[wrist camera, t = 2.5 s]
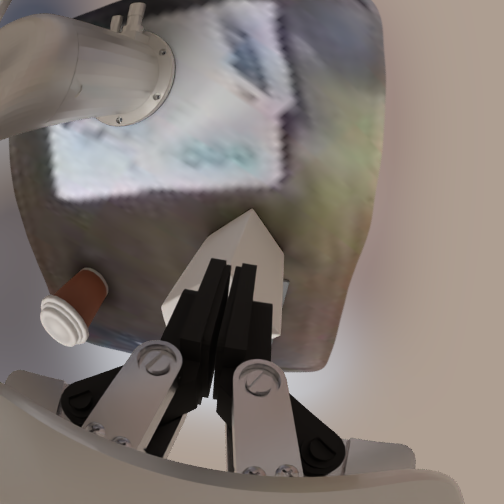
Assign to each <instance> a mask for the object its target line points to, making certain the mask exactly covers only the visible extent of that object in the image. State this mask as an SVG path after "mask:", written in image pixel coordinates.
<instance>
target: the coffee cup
mask: <svg viewBox="0 0 504 504" xmlns="http://www.w3.org/2000/svg"><path fill="white" fill-rule="evenodd" d="M107 294H108V285H107V282H106V280H105V279H104V278H103V276H102V275H101V274H100V273H98V272H97V271H96V270H94V269H92V268H83V269H82V270H80V271H79V272H78V273H77V274H76V275H75V276H74V277H73V278H72V279H70V280H69V281H68V282H67V283H66V284H65V285H64V286H63V287H61V288H60V289H59V290H58V291H57V292H56V293H55V294H54V295H48V296H47V297H45V298H44V299H43V300H42V303H41V310H42V312H41V315H40V319H41V322H42V325H43V326H44V328H45V330H46V331H47V332H48V333H49V334H50V335H51V337H53V338H54V339H55V340H56V341H57V342H59V343H61V344H63V345H65V346H69V347H71V346H75V344H82V343H84V342H85V341H86V339H87V338H88V336H89V333H88V327H89V325H90V324H91V322H92V320H93V318H94V316H95V315H96V313H97V311H98V309H99V307H100V306H101V304H102V302H103V301H104V299H105V297H106V296H107Z"/></svg>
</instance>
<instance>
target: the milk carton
mask: <svg viewBox="0 0 504 504" xmlns="http://www.w3.org/2000/svg"><path fill="white" fill-rule="evenodd" d="M211 258H215V259H221V260H226V264H227V265H231V275H230V284H229V292H230V288H231V284H232V280H233V276H234V272H235V268H236V266H240V267H242V263H246V264H252V265H257V271H256V279H255V287H254V295H253V301H258V302H264V303H271V304H273V317H272V339H273V338H275V337H277V336H280V335H281V317H282V295H283V270H284V253H283V252H282V250H281V249H280V247H279V246H278V244H277V243H276V242H275V240H274V239H273V237H272V236H271V234H270V233H269V231H268V230H267V228H266V227H265V225H264V224H263V223H262V221H261V220H260V218H259V217H258V215H257V214H256V212H255V211H254V210H253V209H250V210H249V211H247V212H245V213H244V214H242V215H241V216H239V217H237V218H236V219H234V220H233V221H231V222H230V223H228V224H226V225H225V226H223V227H222V228H220V229H219V230H217V231H216V232H214V233H212V234H211V235H209V236H208V237H207V238H206V240H205V241H204V243H203V244H202V246H201V247H200V249H199V250H198V251H197V253H196V254H195V256H194V257H193V259H192V260H191V262H190V263H189V265H188V266H187V268H186V269H185V271H184V272H183V274H182V275H181V277H180V278H179V280H178V281H177V283H176V284H175V286H174V287H173V289H172V290H171V292H170V294H169V295H168V297H167V298H166V300H165V301H164V303H163V305H162V307H161V309H162V313H163V316H164V320H165V323H166V327H167V324H168V322H169V320H170V318H171V315H172V313H173V311H174V309H175V307H176V305H177V302H178V300H179V298H180V296H181V294H182V292H183V290H184V289H189V290H194V291H198V289H199V287H200V284H201V282H202V279H203V277H204V275H205V272H206V270H207V267H208V265H209V262H210V260H211ZM228 296H229V293H228Z"/></svg>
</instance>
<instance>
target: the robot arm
mask: <svg viewBox="0 0 504 504" xmlns="http://www.w3.org/2000/svg"><path fill="white" fill-rule="evenodd" d="M11 1H12V0H0V21H1V19H2V17H3V15H4V14H5V12H6V10H7V8H8V6H9V5H10V3H11ZM145 8H146V4H145V3H132V4H131V5H130V7H129V11H128V15H127V18H128V19H127V23H126V26H124V27H122V32H120V27H121V25H122V21H123V16H121V15H116V16H113V17H112V20H111V24H110V26H111V27H110V30H108V29H105V28H102V27H99V26H96V25H93V24H90V23H86V22H83V21H79V20H76V19H72V18H68V17H64V16H59V15H55V14H45V13H43V14H34V15H30V16H26V17H23V18H20V19H18V20H16V21H13V22H11V23H9V24H7V25H6V26H4V27H2V28H0V140H2V139H5V138H8V137H11V136H14V135H17V134H21V133H24V132H28V131H32V130H36V129H40V128H44V127H48V126H52V125H57V124H61V123H66V122H71V121H77V120H82V119H88V118H96V119H98V120H99V121H101V122H102V123H105V124H107V125H110V126H127V125H132V124H135V123H138V122H140V121H142V120H144V119H146V118H147V117H149V116H150V115H151V114H153V113H154V112H155V111H156V110H157V109H158V108H159V107H160V105H161V104H162V103H163V102H164V100H165V99H166V97H167V95H168V94H169V91H170V89H171V86H172V84H173V79H174V75H175V62H174V56H173V54H172V51H171V49H170V47H169V46H168V44H167V43H166V42H165V41H164V40H163V39H162V38H161V37H159V36H157V35H156V34H154V33H151V32H148V31H143V28H144V27H143V26H141V23H142V18H143V16H144V12H145ZM164 52H166V54H165V55H164ZM159 95H160V98H159V99H158V96H159ZM256 271H257V265H252V264H246V263H242V267H240V266H236V268H235V272H234V276H233V280H232V284H231V288H230V292H229V284H230V275H231V265H227V264H226V260H221V259H215V258H211V260H210V262H209V265H208V267H207V270H206V272H205V275H204V277H203V279H202V282H201V284H200V287H199V289H198V291H194V290H189V289H184V290H183V292H182V294H181V296H180V298H179V300H178V302H177V305H176V307H175V309H174V311H173V313H172V315H171V318H170V320H169V322H168V324H167V327H166V329H165V331H164V333H163V335H162V338H161V340H152V341H148V342H145V343H143V344H141V345H139V346H138V347H137V348H136V349H135V350H134V352H133V353H132V354H131V356H130V357H129V359H128V360H127V361H126V363H125V364H124V365H123V366H120V367H117V368H115V369H112V370H109V371H106V372H104V373H101V374H98V375H95V376H92V377H89V378H86V379H83V380H80V381H77V382H74V383H73V384H66V382H65V381H63V380H59V379H54V378H50V377H46V376H42V375H38V374H35V373H31V372H27V371H24V370H17V371H14V372H12V373H11V374H10V375H9V376H8V378H7V380H6V382H5V384H3V383H1V382H0V504H465V503H464V499H463V496H462V493H461V490H460V488H459V486H458V484H457V483H456V481H455V480H454V479H453V478H451V477H450V476H448V475H446V474H443V473H441V472H437V471H432V470H425V469H415V464H416V460H415V454H414V453H413V451H412V449H410V448H409V447H408V446H406V445H403V444H394V443H385V442H375V441H368V440H361V439H355V438H350V439H349V440H346V439H341V438H340V437H339V436H338V435H337V434H336V433H335V432H334V431H332V430H331V429H330V428H329V427H327V426H326V425H325V424H324V423H322V421H320V420H319V419H318V418H317V417H316V416H314V415H313V414H312V413H311V412H310V411H309V410H308V409H306V408H305V407H304V406H303V405H302V404H301V403H300V402H298V401H297V400H296V399H295V398H294V397H293V396H292V395H291V394H290V393H289V390H288V385H287V379H286V377H285V374H284V372H283V371H282V370H281V369H280V367H278V366H277V365H275V364H274V363H272V362H271V343H272V317H273V304H271V303H264V302H258V301H253V295H254V287H255V279H256ZM228 293H229V296H228ZM214 370H215V373H214ZM213 374H214V389H213V399H217V410H216V412H217V413H218V415H219V416H220V417H221V418H222V419H223V420H224V421H225V423H226V424H225V433H226V434H225V436H226V468H227V469H226V472H225V471H219V470H213V469H207V468H202V467H197V466H192V465H188V464H183V463H179V462H175V461H171V460H167V457H168V455H169V453H170V451H171V449H172V446H173V445H174V442H175V440H176V438H177V436H178V434H179V432H180V429H181V427H182V425H183V423H184V421H185V418H186V416H187V413H188V412H190V411H192V410H194V409H196V408H197V405H198V404H199V405H201V401H202V397H206V398H208V396H209V392H210V388H211V383H212V378H213Z"/></svg>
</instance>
